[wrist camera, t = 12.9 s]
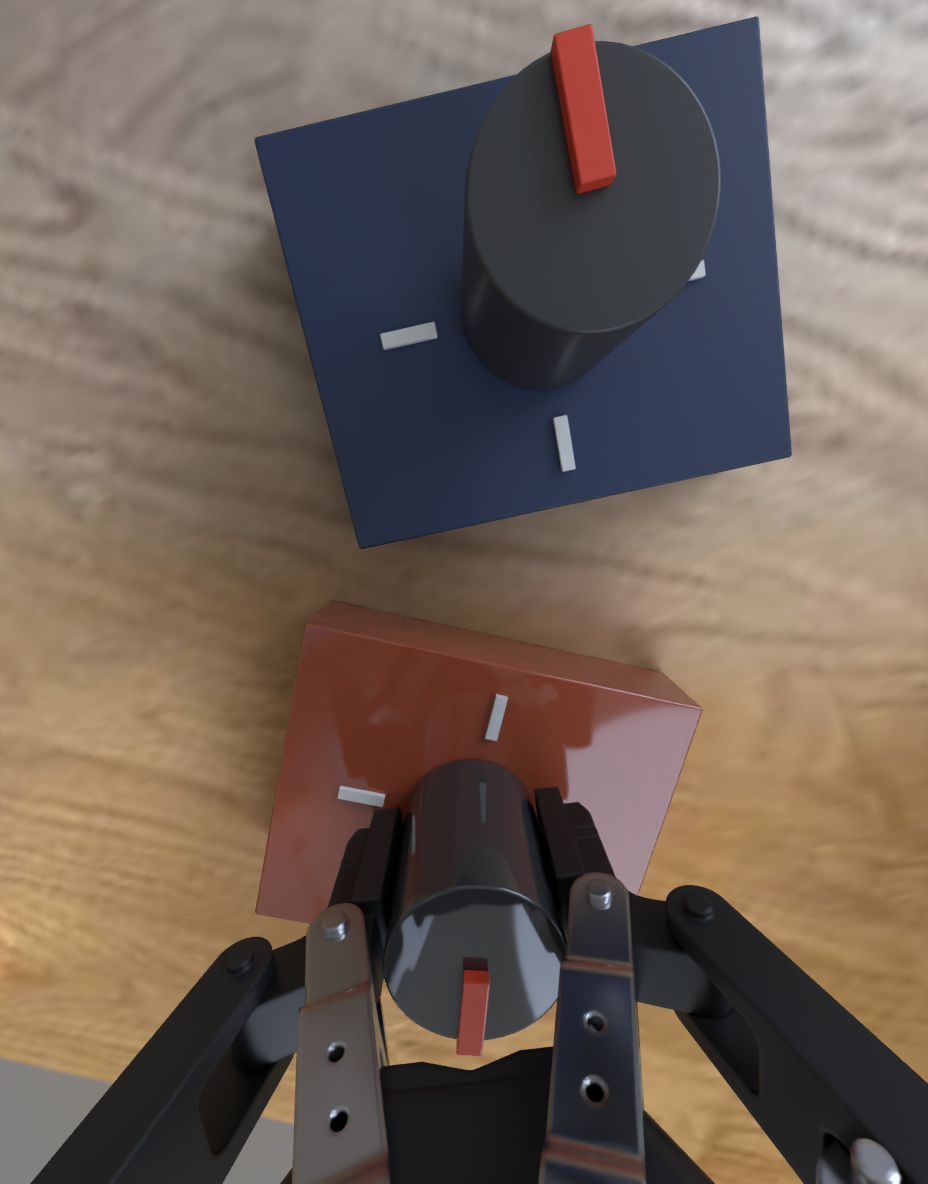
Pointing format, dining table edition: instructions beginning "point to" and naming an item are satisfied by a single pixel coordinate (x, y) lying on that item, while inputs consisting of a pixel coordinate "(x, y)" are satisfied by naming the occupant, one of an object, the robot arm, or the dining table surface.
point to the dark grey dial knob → (473, 908)
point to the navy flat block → (443, 352)
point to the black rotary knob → (582, 208)
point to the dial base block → (460, 739)
